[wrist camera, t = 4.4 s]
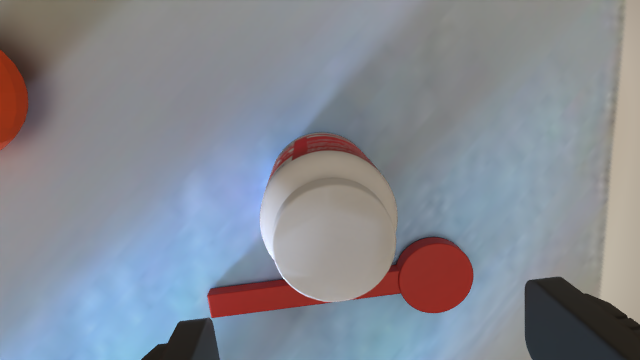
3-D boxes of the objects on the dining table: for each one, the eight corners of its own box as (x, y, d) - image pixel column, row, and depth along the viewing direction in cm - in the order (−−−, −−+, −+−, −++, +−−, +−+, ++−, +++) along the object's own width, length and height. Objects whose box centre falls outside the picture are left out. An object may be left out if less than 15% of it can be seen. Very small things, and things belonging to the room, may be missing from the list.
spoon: (218, 332, 28) (214, 342, 27) (205, 265, 27) (201, 273, 26) (468, 299, 29) (475, 308, 28) (464, 232, 28) (472, 238, 27)
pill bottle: (280, 122, 26) (265, 149, 15) (379, 140, 26) (434, 178, 15) (264, 220, 27) (239, 309, 16) (359, 235, 27) (396, 332, 17)
